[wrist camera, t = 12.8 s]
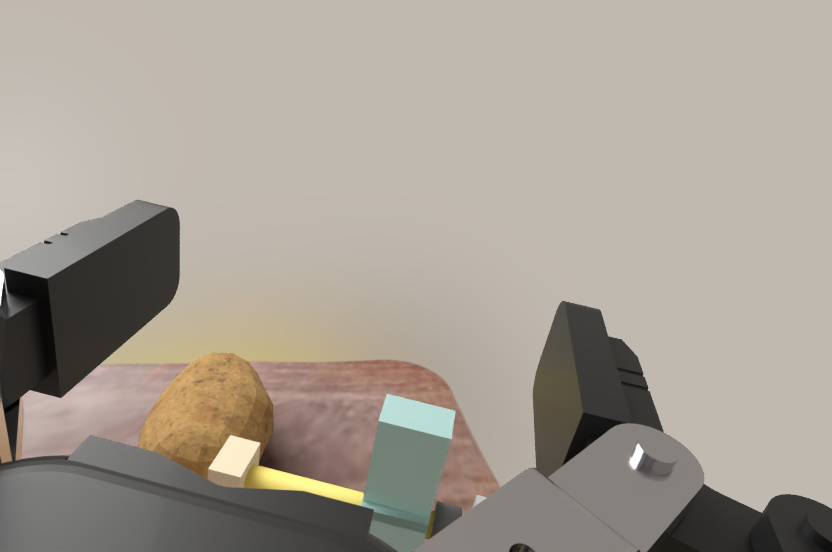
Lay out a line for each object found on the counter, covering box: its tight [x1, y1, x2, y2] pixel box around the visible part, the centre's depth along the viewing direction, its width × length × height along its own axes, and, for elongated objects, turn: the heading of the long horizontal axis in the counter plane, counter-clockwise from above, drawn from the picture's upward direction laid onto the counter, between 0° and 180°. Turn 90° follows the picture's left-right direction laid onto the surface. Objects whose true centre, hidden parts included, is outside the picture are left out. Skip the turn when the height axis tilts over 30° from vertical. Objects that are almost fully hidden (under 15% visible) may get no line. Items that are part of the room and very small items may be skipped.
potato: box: [139, 353, 273, 479], centre depth 46 cm, size 10×14×8 cm
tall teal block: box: [361, 394, 455, 552], centre depth 34 cm, size 4×4×10 cm
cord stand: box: [208, 435, 487, 540], centre depth 37 cm, size 18×6×10 cm, turn 81°
